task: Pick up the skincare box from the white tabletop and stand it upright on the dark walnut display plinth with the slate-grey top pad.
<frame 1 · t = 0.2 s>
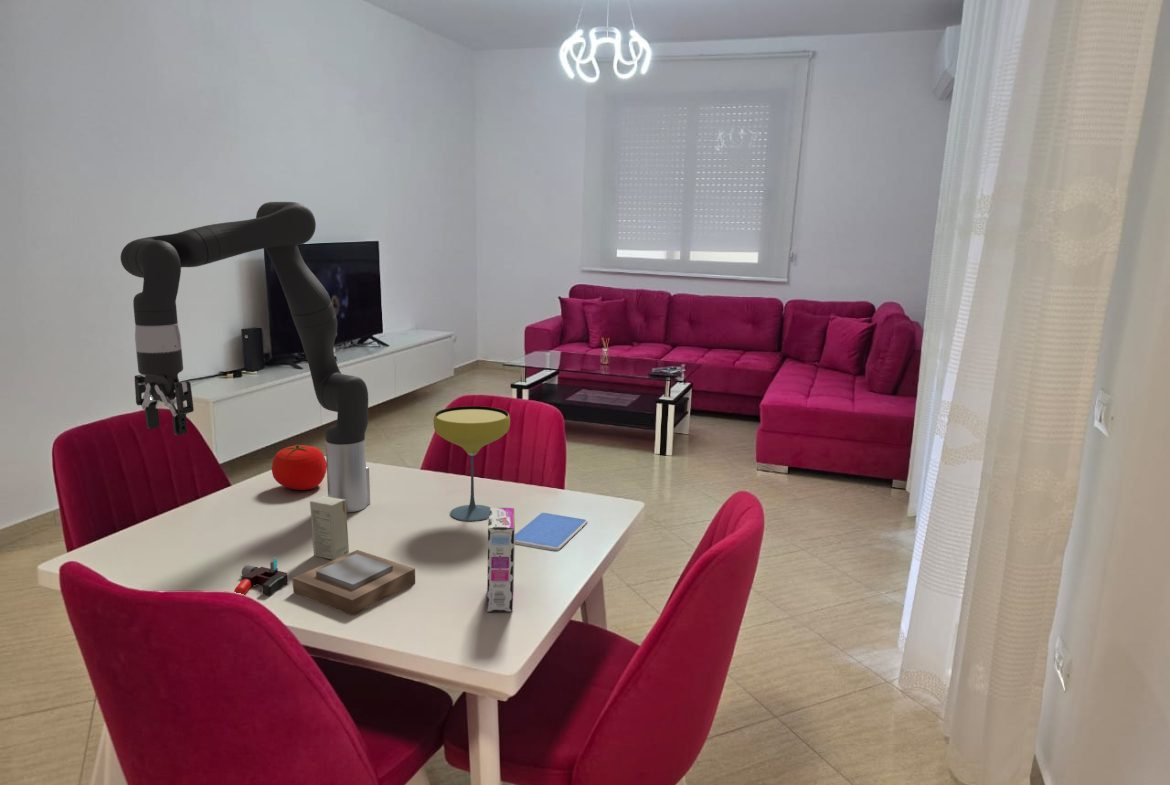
hand: (166, 431, 150), 29 cm above the table, fingers open, 8 cm apart
walnut plinth: (355, 587, 150), on the table
skincare box: (331, 555, 165), on the table
candy bar box: (501, 599, 148), on the table
cocktail glass: (472, 514, 191), on the table
tomato: (301, 488, 206), on the table
tablet computer: (549, 534, 181), on the table
toy gun: (253, 589, 150), on the table
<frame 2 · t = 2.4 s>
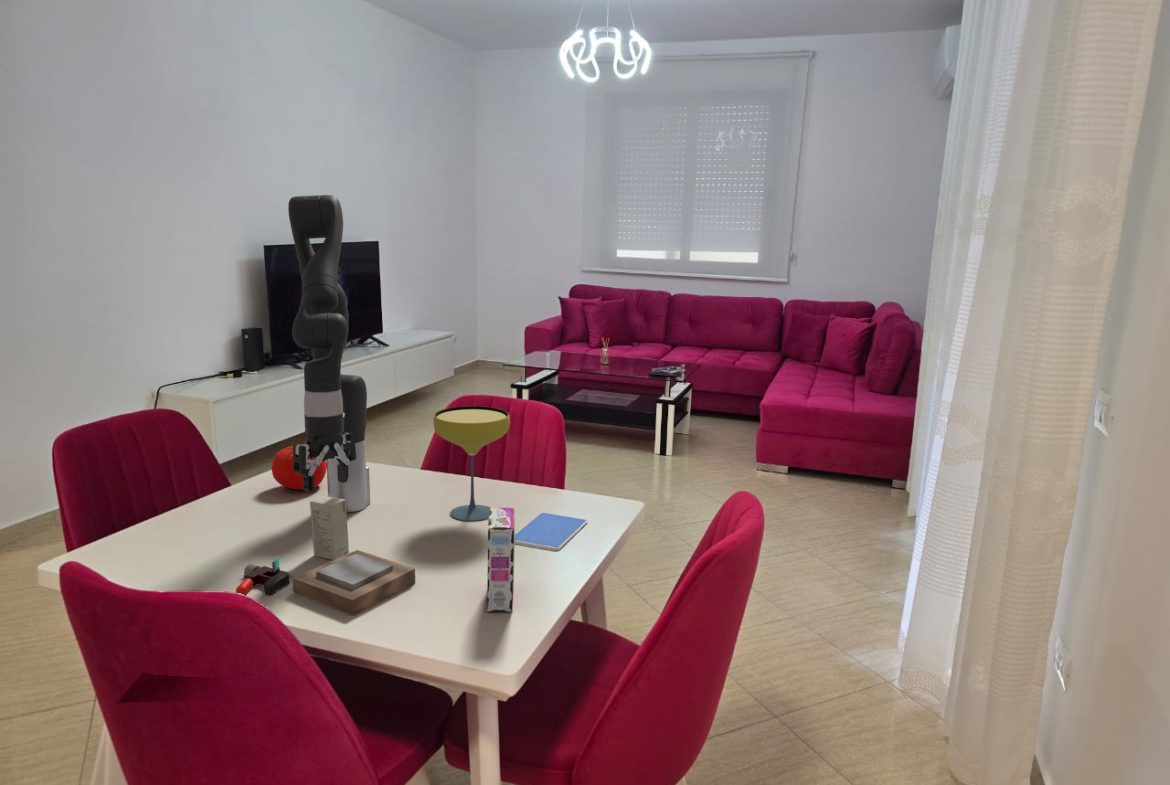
hand: (326, 487, 162), 15 cm above the table, fingers open, 8 cm apart
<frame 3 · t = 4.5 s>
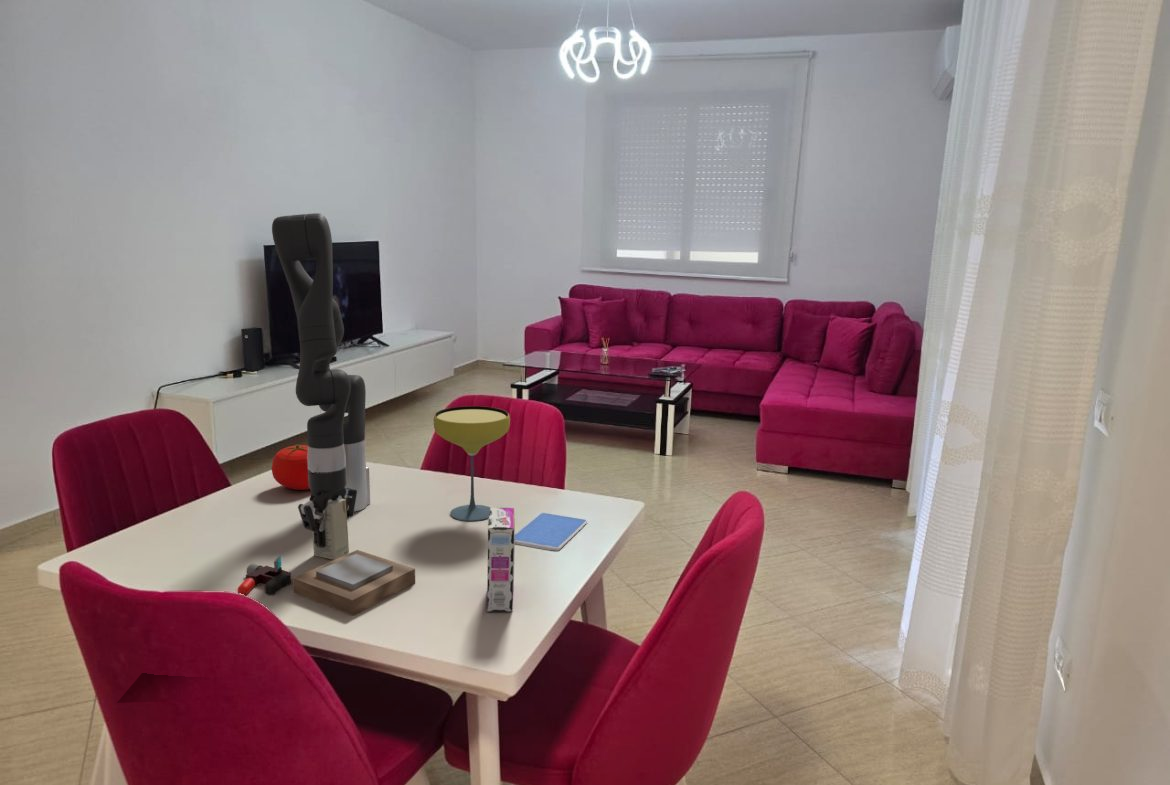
hand: (330, 542, 165), 3 cm above the table, fingers closed on skincare box, 4 cm apart
skincare box: (331, 555, 165), on the table, touching gripper
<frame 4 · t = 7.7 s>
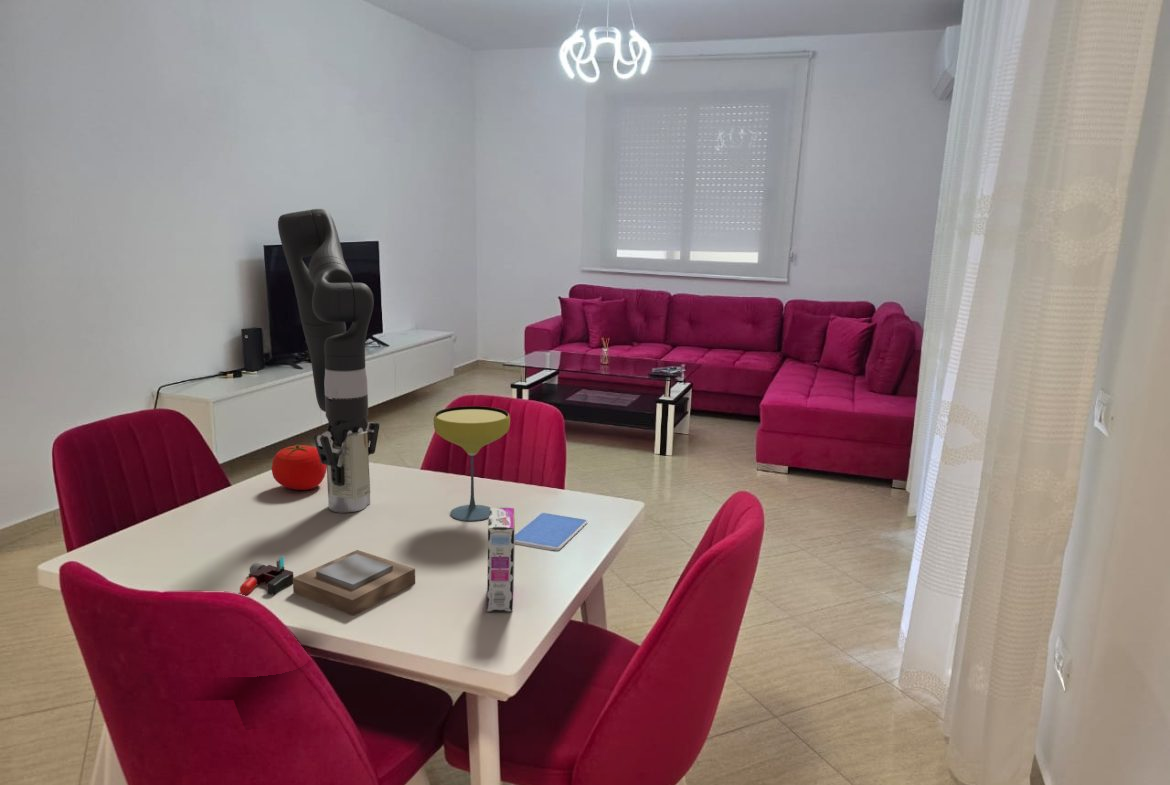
hand: (349, 481, 146), 22 cm above the table, fingers closed on skincare box, 4 cm apart
skincare box: (350, 496, 147), point 19 cm above the table, touching gripper
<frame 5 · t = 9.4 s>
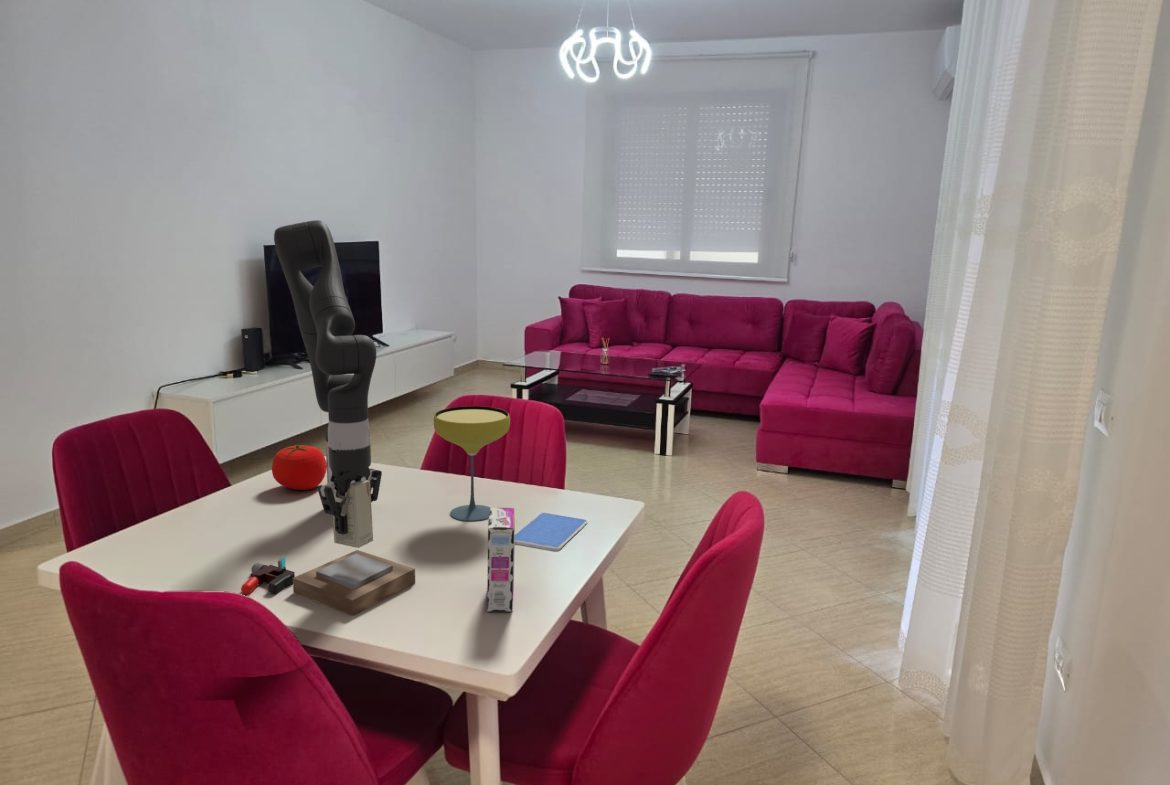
hand: (352, 528, 148), 12 cm above the table, fingers closed on skincare box, 4 cm apart
skincare box: (353, 543, 149), point 9 cm above the table, touching gripper
when the fingers open (8 cm above the table, at t = 11.0 s): skincare box drops 1 cm, resting on walnut plinth.
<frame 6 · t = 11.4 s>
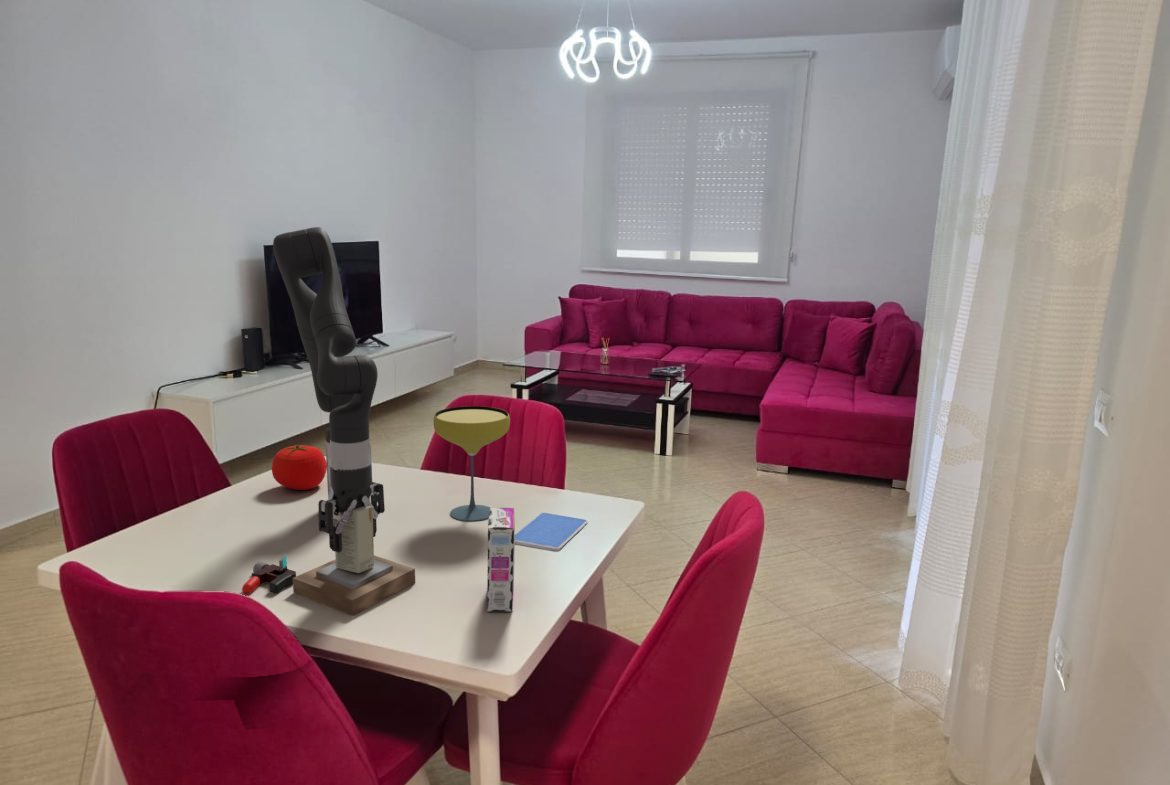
hand: (353, 543, 149), 9 cm above the table, fingers open, 8 cm apart
skincare box: (354, 568, 150), point 4 cm above the table, touching walnut plinth
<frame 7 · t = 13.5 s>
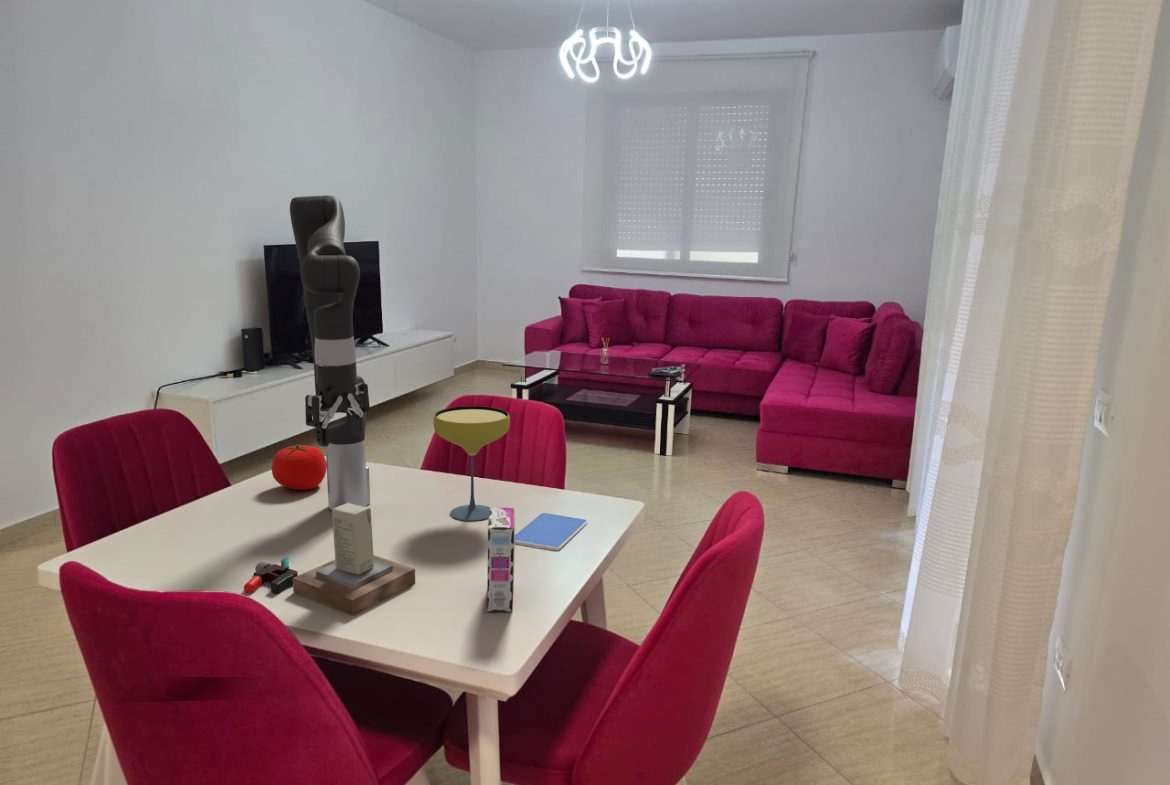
hand: (340, 440, 154), 27 cm above the table, fingers open, 8 cm apart
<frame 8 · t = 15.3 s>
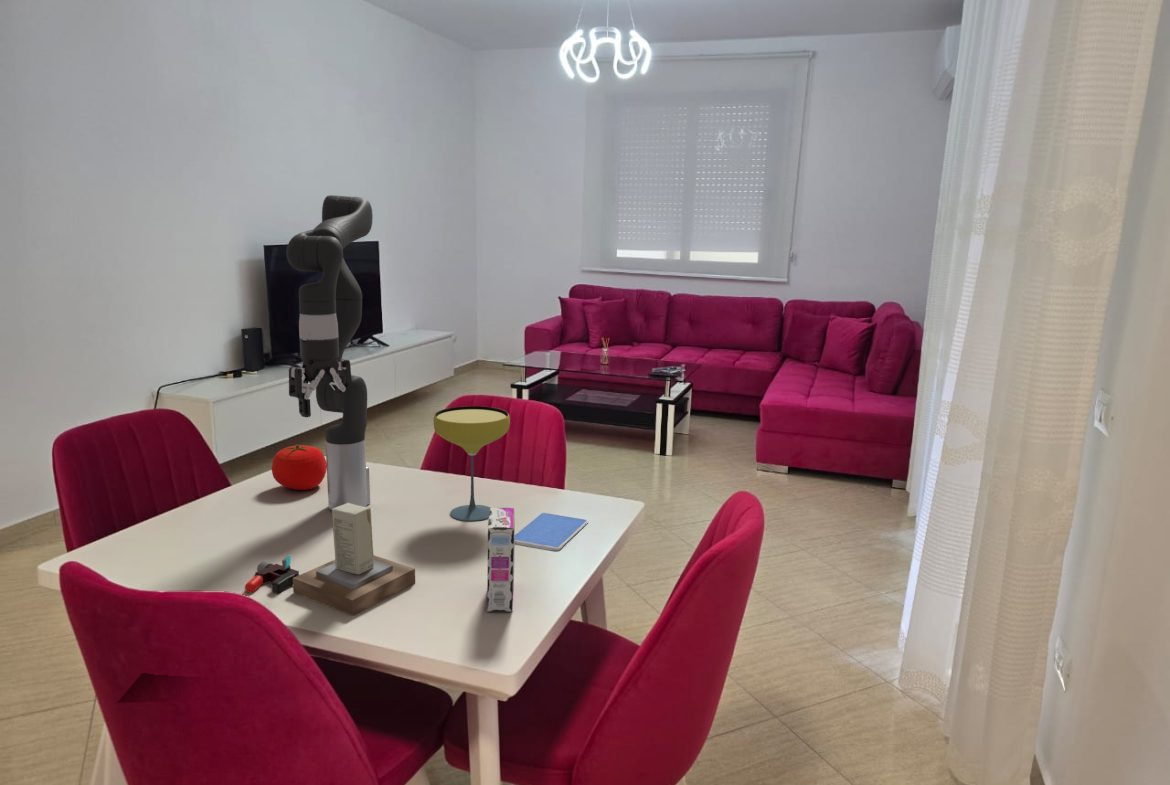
hand: (322, 412, 162), 30 cm above the table, fingers open, 8 cm apart
at the end: skincare box inside the target area on the walnut plinth (0.2 cm from its centre), point 3.8 cm above the walnut plinth's base; skincare box tilted 0°; the gripper is holding nothing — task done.
